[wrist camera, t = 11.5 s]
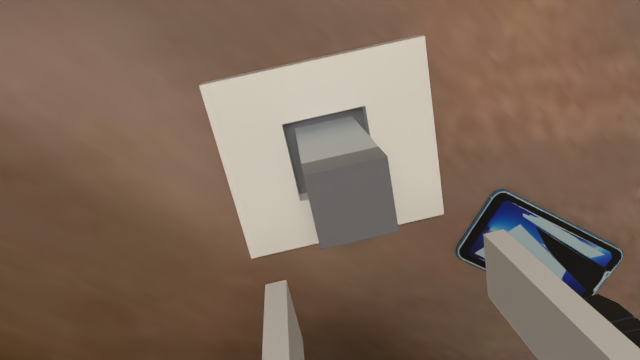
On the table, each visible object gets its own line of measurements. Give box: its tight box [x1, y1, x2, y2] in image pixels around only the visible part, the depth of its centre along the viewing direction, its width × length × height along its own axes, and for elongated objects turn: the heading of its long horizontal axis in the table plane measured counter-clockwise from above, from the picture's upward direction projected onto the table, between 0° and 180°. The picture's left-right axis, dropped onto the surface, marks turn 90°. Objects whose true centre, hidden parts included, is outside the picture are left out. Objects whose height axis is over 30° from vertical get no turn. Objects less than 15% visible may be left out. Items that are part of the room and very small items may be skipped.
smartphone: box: [456, 189, 623, 298], centre depth 38 cm, size 7×1×15 cm
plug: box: [295, 116, 399, 250], centre depth 28 cm, size 4×4×11 cm
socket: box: [199, 35, 444, 259], centre depth 32 cm, size 16×14×2 cm
